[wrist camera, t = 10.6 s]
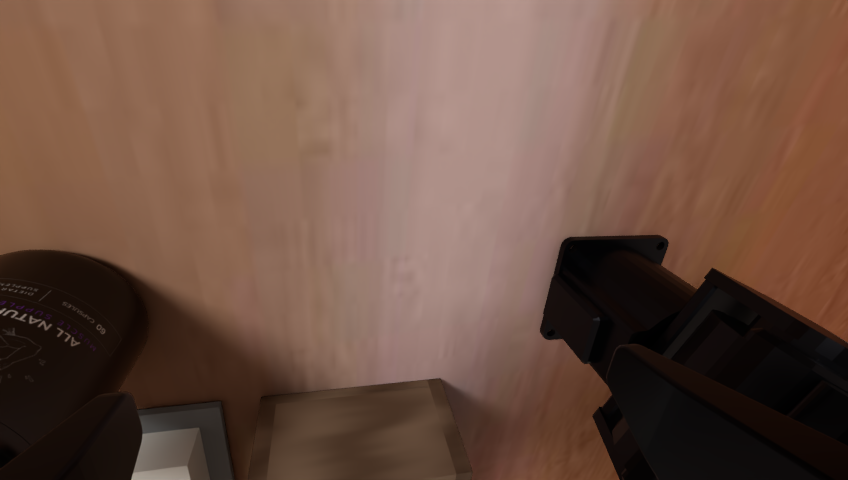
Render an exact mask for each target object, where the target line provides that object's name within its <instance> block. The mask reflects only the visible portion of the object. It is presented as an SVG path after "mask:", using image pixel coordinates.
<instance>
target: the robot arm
mask: <svg viewBox="0 0 848 480" xmlns="http://www.w3.org/2000/svg"><path fill="white" fill-rule="evenodd" d="M571 245H573V247H572V248H571V249H569V248H570V246H571ZM667 247H668V240H667V239H666V238H664V237H662V236H660V235H640V236H596V237H569V238H567V239H565V240H564V241H563V242H562V244H561V247H560V251H559V255H558V259H557V263H556V267H555V271H554V275H553V277H552V280H551V284H550V288H549V292H548V296H547V300H546V304H545V308H544V313H543V314H544V316H543V320H542V324H541V328H540V333H541V334H542V336H543V337H544V338H545V339H547V340H553V339H564V341H565V342H566V343H567V344H568V346H569V347H570V348H571V349H572V351H573V352H574V353H575V354H576V355H577V357H578V358H579V359H580V360H581V361H582V362H583V363H584V364H588V363H589V364H590V365H591V366H592V367H593V369H594V370H595V371H596V372H597V373H598V375H599V376H600V377H601V378H602V380H603V381H604V382H605V383H606V384H607V386H608V387H609V389H610V391H611V393H612V395H611V397H610V398H609V399H608V400H607V401H606V403H605V404H604V405H603V406H602V407H599V408H598V409H597V410H596V412H595V413H594V414H593V418H594V421H595V423H596V425H597V428H598V430H599V432H600V435H601V437H602V439H603V442H604V444H605V446H606V449H607V451H608V453H609V456H610V458H611V460H612V463H613V465H614V467H615V470H616V472H617V474H618V477H619V479H620V480H848V343H847V342H846V341H844V340H842V339H841V338H839V337H838V336H836V335H834V334H833V333H831V332H830V331H828V330H826V329H825V328H823V327H821V326H819V325H818V324H816V323H814V322H812V321H811V320H809V319H807V318H805V317H803V316H802V315H800V314H798V313H796V312H795V311H793V310H791V309H789V308H788V307H786V306H784V305H782V304H781V303H779V302H777V301H775V300H773V299H772V298H770V297H768V296H766V295H764V294H762V293H760V292H758V291H756V290H754V289H752V288H750V287H749V286H747V285H745V284H743V283H741V282H739V281H737V280H735V279H733V278H731V277H729V276H727V275H725V274H724V273H722V272H720V271H718V270H716V269H714V268H712V269H711V270H710V271H709V272H708V274H707V275H706V276H705V277H704V278H705V279H706V280H705V281H704V282H703V284H702V285H701V286H700V287H699V289H698V290H697V289H696V288H694V287H693V286H691V285H690V284H688V283H687V282H685V281H684V280H682V279H681V278H679V277H678V276H676V275H675V274H673V273H672V272H670V271H669V270H667V269H666V268H664V267H663V266H661V263H662V261H663V258H664V255H665V253H666V250H667ZM549 330H550V331H549ZM548 331H549V332H548ZM142 435H143V430H142V425H141V421H140V418H139V414H138V411H137V408H136V404H135V401H134V398H133V396H132V395H131V393H129V392H116V393H106V394H101V395H98V396H97V397H95V398H93V399H92V400H91V401H89V402H88V403H87V404H85V405H84V406H83V407H81V408H80V409H79V410H77V411H76V412H75V413H74V414H72V415H71V416H70V417H68V418H67V419H66V420H64V421H63V422H62V423H60V424H59V425H58V426H56V427H55V428H54V429H52V430H51V431H50V432H48V433H47V434H46V435H44V436H43V437H42V438H40V439H39V440H38V441H36V442H35V443H34V444H32V445H31V446H30V447H28V448H27V449H26V450H25V451H23V452H22V453H21V454H19V455H18V456H17V457H15V458H14V459H13V460H11V461H10V462H9V463H7V464H6V465H5V466H3V467H2V468H1V469H0V480H131V479H132V475H133V471H134V468H135V464H136V461H137V457H138V453H139V450H140V446H141V442H142Z"/></svg>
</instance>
